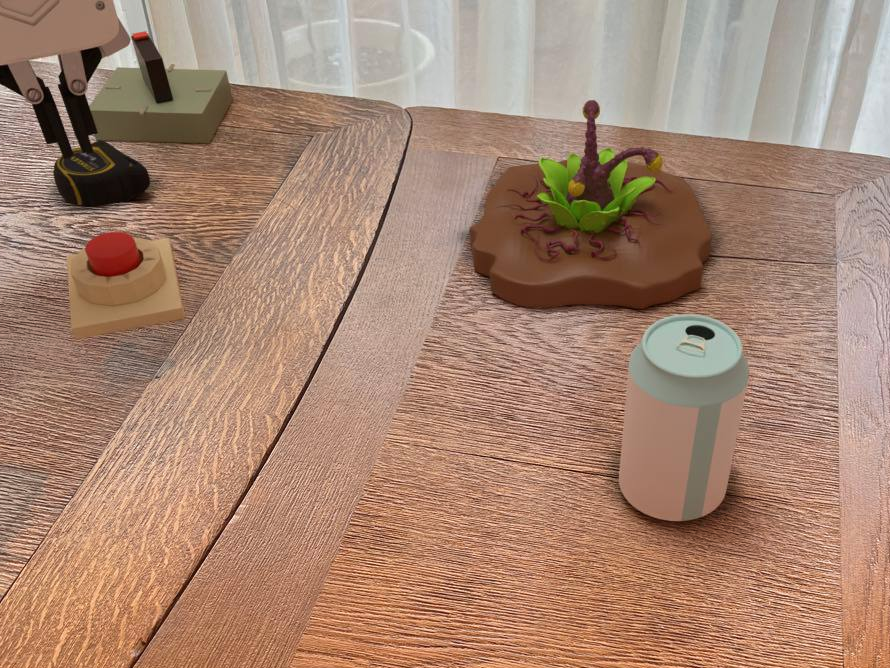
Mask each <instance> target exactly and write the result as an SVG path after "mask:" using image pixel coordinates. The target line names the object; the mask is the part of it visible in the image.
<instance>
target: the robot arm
mask: <svg viewBox="0 0 890 668" xmlns="http://www.w3.org/2000/svg"><path fill="white" fill-rule="evenodd" d="M130 43H131V36H130V35H129V33H128V31H127V30H126V28H125V26H124V25H123V23H122V21H121V20H120V18H119V17H118V13H117V10H116V5H115V2H114V0H0V85H1V86H3V87H5V88H6V89H8V90H10V91H12V92H14V93H15V94H17V95H19V96H21V97H22V98H24V99H25V101H26V102H28V103H29V104H31V106H32V109H33V111H34V114H35V117H36V119H37V122H38V125H39V128H40V129H41V133H42V135H43V139H44V141H45V143H46V145H51V144H57V145H58V148H59V150H60V153H61V156H63V158H64V160H65V159H70V158H72V157H71V156H73V155H74V154H73V151H72V149H73V148H72V146H71V145H72V144H71V143H70V140H69V137H68V135H67V134H68V133H67V131H66V129H65V125H64V124H63V120H62V118H61V114H60V112H59V109H58V107H57V103H56V101H55V99H54V96H53V94H52V91H51V89H50V87H49V86H46V84H45V81H44V79H43V78H41V77H39V76H37V75H36V73H35V70H34V68H33V66H32V64H31V61H32V60H37V59H43V58H49V57H55V56H57V60H58V64H59V69H60V73H59V74H58V80H59V84H57V87H58V91H59V93H60V96H61V99H62V102H63V104H64V108H65V111H66V113H67V115H68V119H69V121H70V125H71V127H72V130H73V133H74V136H75V138H76V141H77V143H78V146H79V147H80V148H81V150H82V152H83V153H86V154H87V155H88V154H92V153H94V151H93V148H92V145H91V144H92V142H91V140H90V139H91V138H90V136H95V135H94V134H98V131H97V128H96V125H95V122H94V119H93V116H92V113H91V110H90V107H89V106H90V104H89V101H88V99H87V95H86V93H87V92H88V89H89V87H88V86H89V85H88V84H89V82H90V80H91V79H92V77H93V75H94V73H95V72H96V70H97V68H98V67H99V65H100V63H101V61H102V59H105V58H106V57H107V58H109V57H110V56H112V55H114V54H116V53H118V52H119V51H121V50H123V49H125V48H127V47H129V45H130Z"/></svg>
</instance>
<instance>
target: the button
mask: <svg viewBox="0 0 890 668" xmlns="http://www.w3.org/2000/svg"><path fill="white" fill-rule="evenodd" d="M134 238H135V237H133V236H132V235H131V234H129V233H126V232H122V231H110V232H104V233H102V234H98V235H96V236H94V237H92V238H91V239H90V240H88V242H87V243H86V244H85V247H84V248H85V252H86V254H87V257H88V260H89V262H90V265H91V268H92V270H93V272H94V273H95V274H96V275H98V276H104V277H113V276H118V275H124V274H126V273H128V272H130V271H132V270H134V269H136V268H138V267H139V265H140V264H141V258H140V255H139V252H138V249H137V246H136V243H135V240H134Z"/></svg>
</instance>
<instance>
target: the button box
mask: <svg viewBox="0 0 890 668" xmlns="http://www.w3.org/2000/svg"><path fill="white" fill-rule="evenodd" d="M133 238H134V240H135V243H136V246H137V249H138V252H139V255H140V258H141V264H140V265H139V267H138V268H136V269H134V270H132V271H130V272H128V273H126V274H124V275H118V276H113V277H104V276H98V275H96V274H95V273H94V272H93V270H92V268H91V265H90V262H89V260H88V257H87V254H86V252H85V247H84V248H82V249H80V250H79V252H77V253H72V254H67V255H66V256H65V259H66V270H67V285H68V286H67V287H68V301H69V315H70V329H71V331H72V334H73V336H74V339H75V340H79V339H86V338H90V337H95V336H100V335H105V334H106V335H107V334H112V333H116V332H122V331H127V330H132V329H138V328H143V327H148V326H153V325H158V324H164V323H169V322H173V321H174V322H175V321H179V320H185V319H186V313H185V308H184V302H183V297H182V292H181V286H180V281H179V277H178V272H177V267H176V261H175V255H174V251H173V246H172V243H171V240H170V238H169V237H165V238H159V239H158V238H157V239H154V240H148V239H146V238H141V237H133Z"/></svg>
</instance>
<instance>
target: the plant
mask: <svg viewBox="0 0 890 668" xmlns="http://www.w3.org/2000/svg"><path fill="white" fill-rule="evenodd" d="M600 106H601V105H600V104H599V102H597V100H595V99H590V100H587V101H586V102H584V104H583V107H582V115H583V117H584V119H586V128H587V129H586V131H585V132H584V136H585V141H584V146H585V147H584V149H583V153H584V155H583V156H582V157H580V156H579V155H578V154H576V153H574V152H572V153H570V154H568V156H567V159H564V160H561V161H556V160H553V159H550V158H546V157H540V158H539V159H538V163H528V164H521V165H512V166H509V167H508V168H507V170H505V171H504V172H503V173H502V174H501V175H499V178H498V179H497V181H496V183H495V185H493V186H492V187H491V189H490V190H489V191H488V193H487V195H486V199H485V200H486V201H485V205H484V211H483V215H482V217H481V218H480V220H478V222H476V223H474V224H473V225H471V226H469V245H470V249H472V262H473V269H474V270H475V272H477V273H479V274H481V275H483V276H486V277H489V287H490V292H491V293H492V294H494V295H495V296H498V297H499V298H501V299H502V300H504V301H507V302H509V303H511V304H515V305H517V306H521V307H525V308H531V309H532V308H533V309H535V308H536V309H537V308H538V309H539V308H540V309H543V308H544V309H545V308H556V307H564V306H573V305H597V306H598V305H599V306H620V307H626V308H631V309H637V310H639V309H640V310H641V309H646V308H649V307H651V306H655V305H662V304H666V303H669V302H673V301H675V300H677V299H679V298H680V297H682V296H684V295H686V294H688V293H692V292H696V291H698V290H700V288H702V287H701V286H702V279H703V272H704V264H703V263H704V262H706V261H707V260H709V257H710V255H711V249H712V241H713V234H712V231H711V228H710V226H709V225H708V223H707V219H706V218H705V216H704V214H703V211H702V208H701V206H700V203H699V201H698V199H697V196H696V194H695V192H694V190H693V188H692V187H691V186H690V184H689V183H688V181H687V180H686V179H685V178H683V177H681V176H677V175H674V174H671V173H669V172H666V171H663V170H662V167H663V164H664V163H663V158H662V156H661V154H660V153H659V152H657V151H655V150H653V149H652V148H649V147H646V148H645V147H643V146H642V147H628V148H627V149H625V150H622V151H620V152H619V153H618V154H616V153H615V151H614V150H613V148H612V147H606V148H604V149H602V150H600V151H598V142H597V141H598V140H597V139H598V137H597V125H596V120H597V119H598V117H599V116H600V114H601V107H600ZM636 156H641V157H643V159H644V163H645V164H640V163H636V162H635V163H634V162H629V161H628V160H627V159H629V158H632V157H636Z"/></svg>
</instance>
